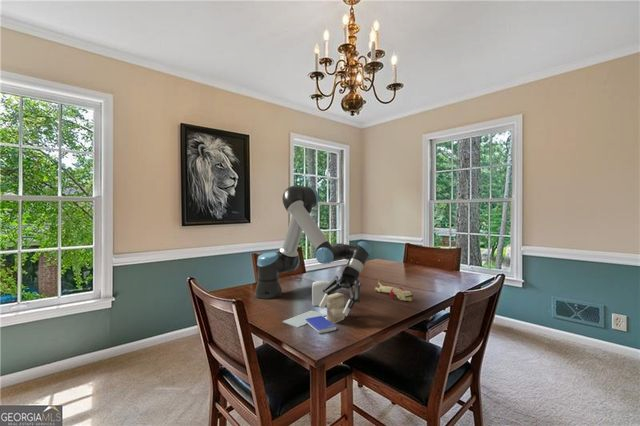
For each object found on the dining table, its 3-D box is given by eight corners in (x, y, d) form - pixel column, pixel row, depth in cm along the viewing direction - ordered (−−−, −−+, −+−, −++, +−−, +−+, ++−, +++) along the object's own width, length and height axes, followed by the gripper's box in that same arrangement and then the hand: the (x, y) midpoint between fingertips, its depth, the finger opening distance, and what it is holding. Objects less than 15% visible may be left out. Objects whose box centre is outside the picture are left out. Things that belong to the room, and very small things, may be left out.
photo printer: (312, 306, 150) (311, 282, 150) (312, 303, 155) (312, 279, 154) (332, 306, 150) (332, 281, 150) (332, 303, 154) (332, 279, 154)
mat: (282, 322, 130) (282, 321, 130) (311, 311, 144) (311, 310, 144) (297, 327, 124) (297, 327, 124) (326, 315, 137) (326, 314, 137)
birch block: (327, 321, 131) (326, 296, 131) (337, 316, 136) (337, 292, 136) (334, 323, 128) (334, 298, 128) (344, 318, 133) (344, 294, 133)
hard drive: (336, 325, 122) (322, 315, 133) (318, 329, 118) (305, 318, 129) (336, 329, 122) (322, 318, 133) (318, 333, 118) (305, 322, 129)
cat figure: (372, 294, 173) (404, 303, 152) (371, 279, 174) (403, 285, 152) (385, 292, 178) (418, 299, 157) (384, 277, 179) (417, 282, 157)
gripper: (378, 279, 135) (359, 322, 124) (335, 271, 151) (315, 309, 141) (372, 269, 131) (351, 313, 120) (328, 262, 147) (307, 300, 137)
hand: (332, 311), depth 130 cm, fingers open, 13 cm apart
